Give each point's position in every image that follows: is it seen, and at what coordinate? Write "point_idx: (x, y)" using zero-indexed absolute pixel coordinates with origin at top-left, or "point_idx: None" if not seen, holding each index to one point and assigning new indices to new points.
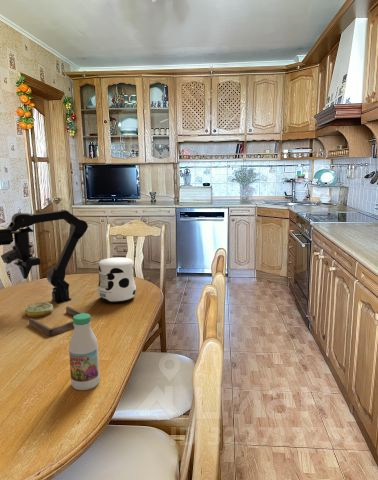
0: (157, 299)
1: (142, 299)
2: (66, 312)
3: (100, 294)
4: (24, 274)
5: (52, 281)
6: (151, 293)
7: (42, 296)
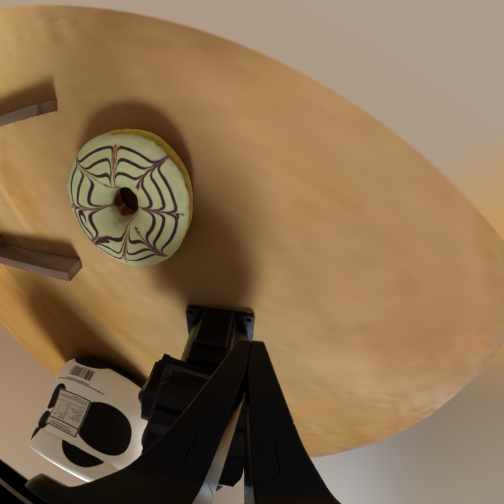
0: None
1: None
2: (79, 259)
3: (89, 375)
4: (206, 385)
5: (157, 390)
6: None
7: (345, 323)
